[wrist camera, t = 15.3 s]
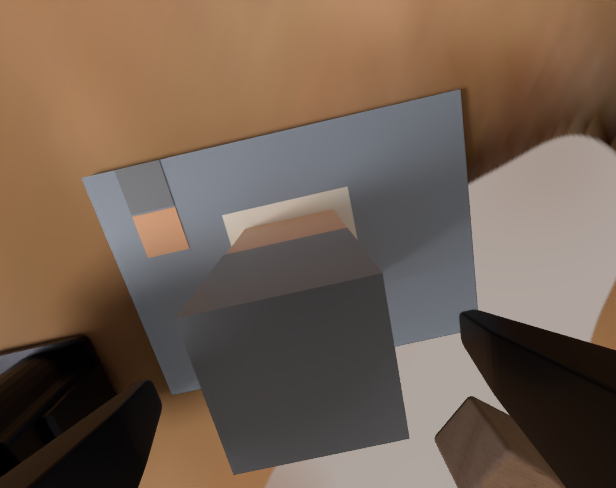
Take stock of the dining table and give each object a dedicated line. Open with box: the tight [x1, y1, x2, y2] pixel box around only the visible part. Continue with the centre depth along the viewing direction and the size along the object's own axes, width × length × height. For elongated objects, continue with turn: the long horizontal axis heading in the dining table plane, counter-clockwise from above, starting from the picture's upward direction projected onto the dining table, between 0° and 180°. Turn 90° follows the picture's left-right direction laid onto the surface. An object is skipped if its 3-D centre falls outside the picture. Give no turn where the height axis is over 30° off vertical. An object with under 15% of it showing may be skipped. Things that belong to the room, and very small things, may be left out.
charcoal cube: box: [175, 227, 409, 475], centre depth 10 cm, size 5×5×5 cm
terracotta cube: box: [226, 209, 347, 254], centre depth 15 cm, size 5×5×5 cm
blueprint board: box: [82, 89, 478, 395], centre depth 18 cm, size 20×14×1 cm
